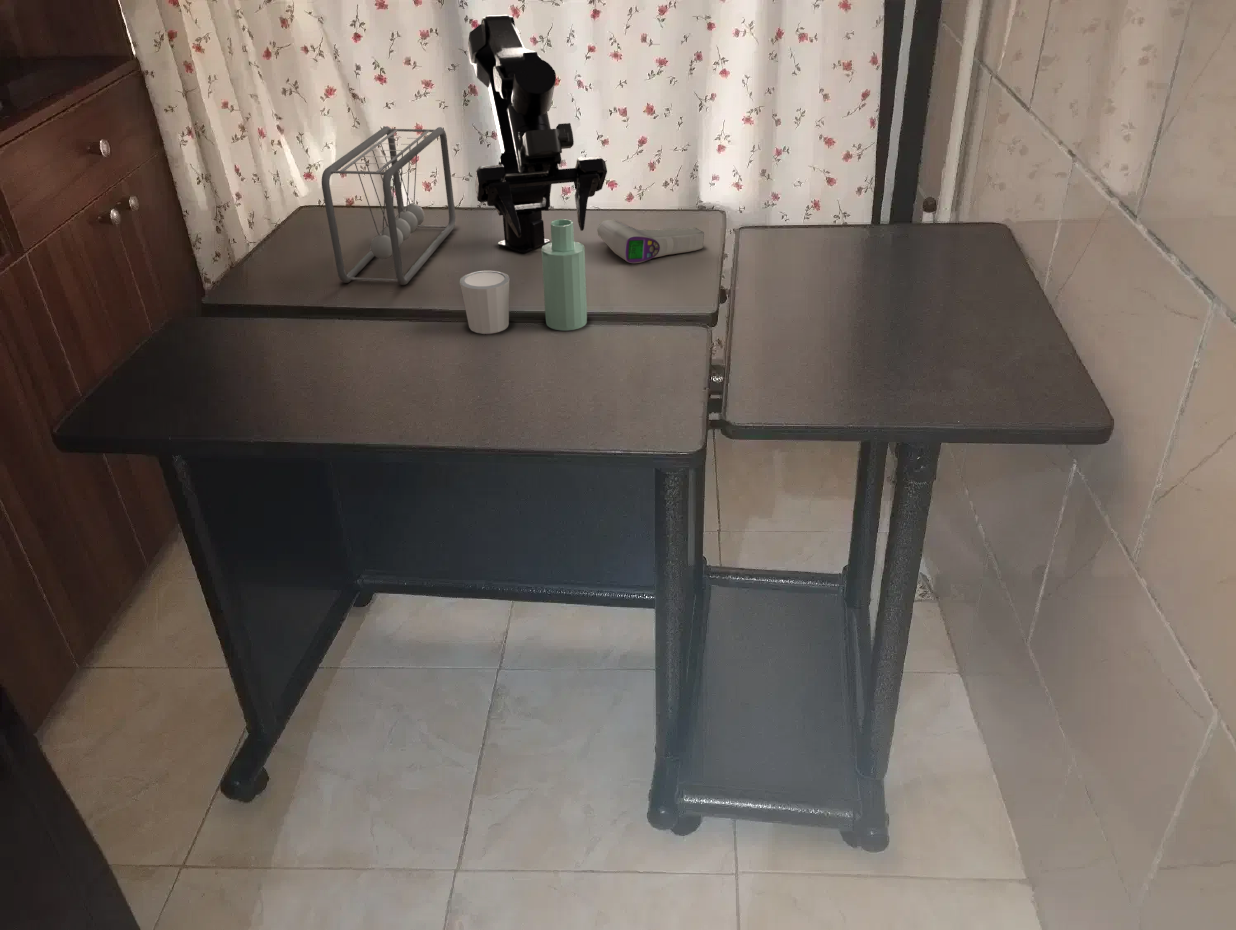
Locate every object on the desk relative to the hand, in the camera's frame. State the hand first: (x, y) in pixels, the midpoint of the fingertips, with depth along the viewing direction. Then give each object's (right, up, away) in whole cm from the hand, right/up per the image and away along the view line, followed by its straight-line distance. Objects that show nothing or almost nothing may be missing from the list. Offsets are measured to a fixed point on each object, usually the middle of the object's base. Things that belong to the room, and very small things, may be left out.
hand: (551, 232), depth 137 cm
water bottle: (+2, -13, -1) cm, 13 cm away
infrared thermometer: (+15, +3, +24) cm, 29 cm away
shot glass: (-9, -14, -1) cm, 16 cm away
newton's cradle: (-27, +2, +23) cm, 35 cm away
